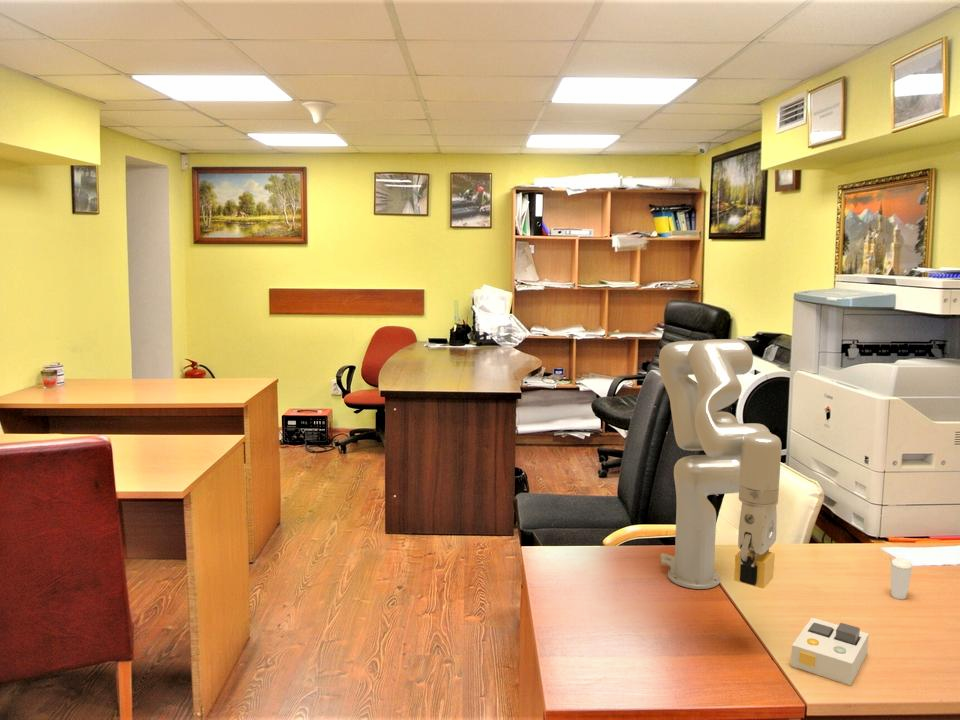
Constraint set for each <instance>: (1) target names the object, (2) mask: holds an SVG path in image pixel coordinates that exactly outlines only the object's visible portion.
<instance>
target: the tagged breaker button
mask: <svg viewBox="0 0 960 720" xmlns="http://www.w3.org/2000/svg"><path fill="white" fill-rule="evenodd" d="M809 632H811V633H815V634H818V635H821V636H825V637H828V638H830V636H831V634H832V632H833V628H832V627H828V626H825V625H821V624H818V623H814V624H813V625H812V627H811V628H810V629H809Z"/></svg>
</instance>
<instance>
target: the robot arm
mask: <svg viewBox="0 0 960 720" xmlns="http://www.w3.org/2000/svg"><path fill="white" fill-rule="evenodd" d="M753 363H754V356H753V352H752V348H751V347H750V346H749V344H748V343H747V342H745V340H742V339H738V338H729V339H727V338H725V339H723V338H722V339H721V338H720V339H717V338H716V339H715V338H714V339H704V340H682V341H681V340H680V341H679V340H678V341H674V342H670V343H666V344H665V345H664V346H662V348H661V350H660V352H659V355H658V366H659V367H658V369H659V375H660V378H661V380H662V383H663V385H664V387H665V390H666V393H667V395H668V398H669V402H670V403H669V404H670V411H671V420H672V424H673V434H674V437H675V442H676V444H677V446H678V448H679V449H682V450H684V451H704V453H705V454H695V455H688V456H686V455H685V456H683V457H681V458H680V459H678V460H677V461H676V462H675V464H674V466H673V479H674V485H675V495H676V498H675V499H676V511H675V513H676V516H675V517H676V518H675V540H674V541H675V545H674V547H675V548H674V554H673V555H670V554H668V553H664V552H662V553H660V557H659V559H660V564H661V565H665V566H668V567H669V569H668V570H667V577H668V579H669V580H670V581H671V582H672V583H674V584H675V585H678V586H679V587H683V588H687V589H688V588H689V589H694V590H708V589H711V588H715V587H717V586H718V585H719V584H720V583H721V574H719V572H717V571H716V570H715V555H716V554H715V553H716V533H717V511H716V508H715V506H714V505H713V504H712V502H711V501H710V500H709V499H708V496H710V495H711V496H712V495H723V494H738V500H739V501H740V502H741V510H740V515H739V516H740V517H739V526H738V537H737V539H738V540H737V541H738V542H737V546H738V549H739V551H740V559H741V561H740V564H741V567H740V581H741V582H743V583H742V584H745V583H747V584H746V585H748V584H750V585H749V586H752V585H756V582H757V566H756V560H757V555H758V554H759V555H762V554H764V553H765V552H766V551H768V552H770V549H771V547H772V546H773V545H774V544H775V542H776V540H777V519H778V518H777V505H778V504H779V495H780V494H779V491H780V475H781V459H782V441H781V438H780V437H779V436H777V435H776V434H773V433H772V432H770V429H769V428H768V427H767V426H766V425H765V424H761V423H756V422H755V423H750V422H749V423H739V421H738V419H737V418H736V416H735V415H734V414H732V413H730V412H728V411H721V410H722V409H725V408H727V407H729V406H730V405H732V404H734V403H735V402H736V401H737V400H738V399H739V398H740V396H741V394H742V390H743V388H742V384H741V382H740V380H739V378H738V376H739V375H740V376H741V375H746V374H747V373H750V371H751V370H752V367H753ZM691 375H694V377H695V380H696V382H697V383H696V382H695V381H694V380H693V379H692V378H691V377H690V376H691ZM737 375H738V376H737ZM750 547H752V548H754V551H752V550H749V549H750ZM748 553H751V554H753V558H751V557H750V556H749V554H748ZM741 582H740V583H741Z"/></svg>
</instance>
